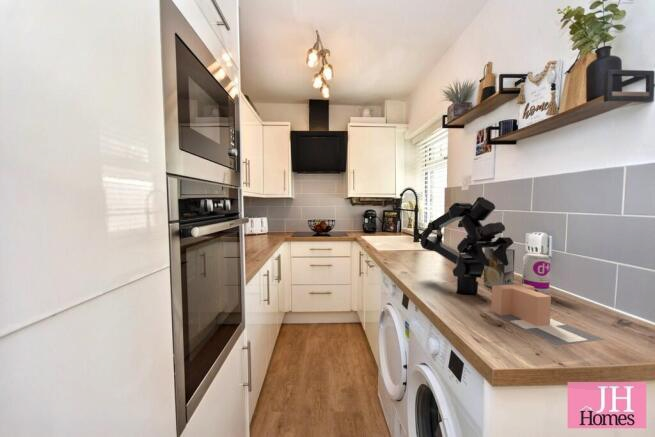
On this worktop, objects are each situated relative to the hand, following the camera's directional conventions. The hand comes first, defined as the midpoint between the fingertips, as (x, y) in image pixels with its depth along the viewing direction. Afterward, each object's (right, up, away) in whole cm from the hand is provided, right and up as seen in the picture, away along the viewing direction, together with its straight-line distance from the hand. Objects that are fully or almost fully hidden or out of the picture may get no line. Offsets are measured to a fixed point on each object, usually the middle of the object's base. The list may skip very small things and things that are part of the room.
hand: (498, 265), depth 90 cm
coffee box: (+14, -13, +22) cm, 29 cm away
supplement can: (+23, -13, +14) cm, 30 cm away
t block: (+2, -14, -9) cm, 17 cm away
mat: (+3, -14, -13) cm, 20 cm away
